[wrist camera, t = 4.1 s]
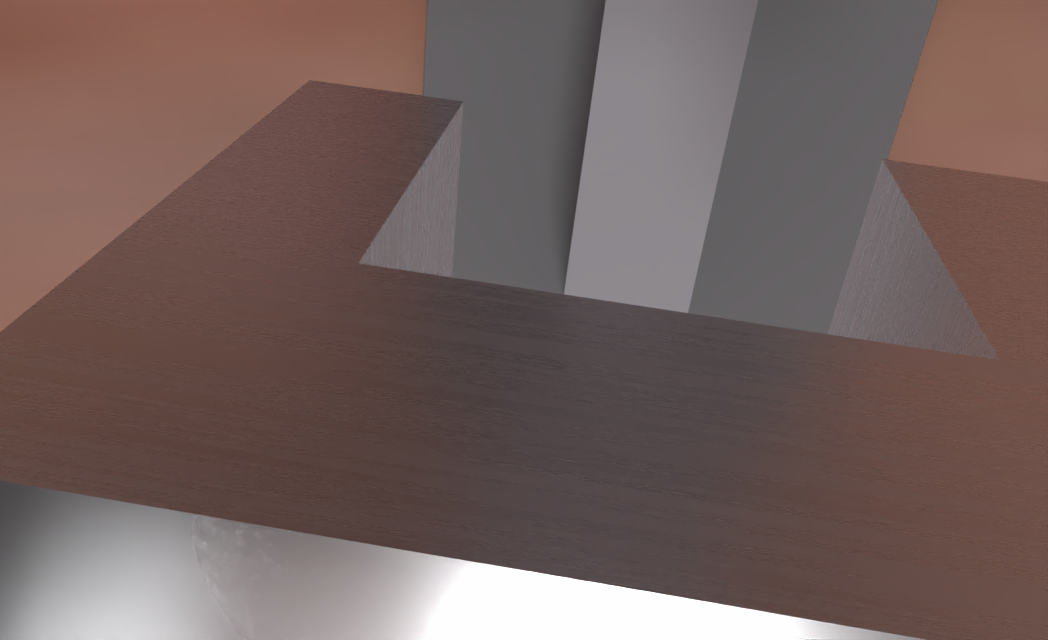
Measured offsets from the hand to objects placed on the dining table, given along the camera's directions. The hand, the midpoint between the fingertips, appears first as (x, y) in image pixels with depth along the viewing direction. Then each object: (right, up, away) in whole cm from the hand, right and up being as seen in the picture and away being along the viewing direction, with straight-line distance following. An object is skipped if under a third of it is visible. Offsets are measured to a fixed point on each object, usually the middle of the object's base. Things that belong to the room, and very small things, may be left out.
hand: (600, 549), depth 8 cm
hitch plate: (+2, +8, +6) cm, 10 cm away
